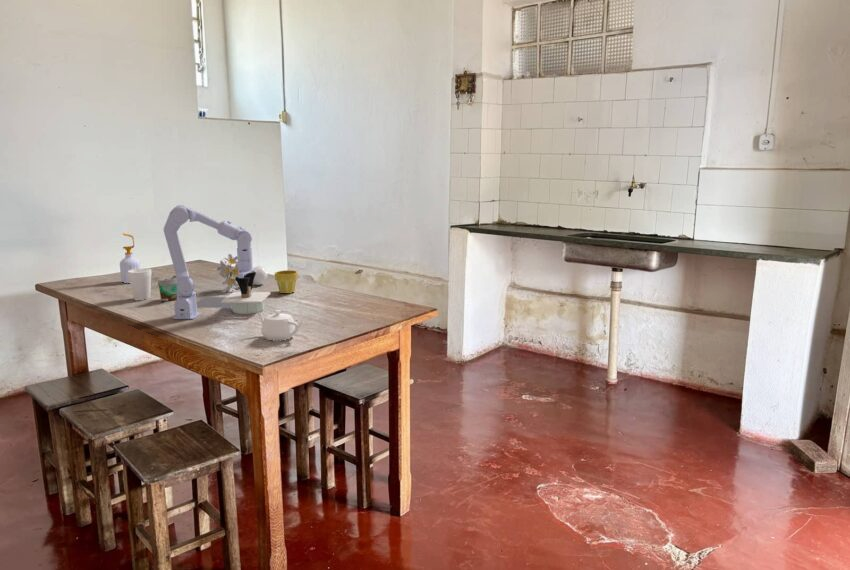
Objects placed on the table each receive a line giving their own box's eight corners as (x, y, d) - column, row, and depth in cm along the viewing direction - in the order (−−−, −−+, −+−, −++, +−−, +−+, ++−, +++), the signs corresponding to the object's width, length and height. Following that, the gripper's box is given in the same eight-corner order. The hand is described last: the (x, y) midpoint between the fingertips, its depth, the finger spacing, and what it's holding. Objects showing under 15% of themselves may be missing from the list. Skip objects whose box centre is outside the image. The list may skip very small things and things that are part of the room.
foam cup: (126, 299, 275) (123, 271, 273) (144, 295, 283) (141, 267, 280) (140, 302, 271) (137, 273, 268) (158, 298, 279) (155, 269, 276)
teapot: (245, 337, 223) (244, 310, 220) (271, 328, 233) (269, 302, 231) (286, 346, 212) (284, 318, 210) (311, 337, 222) (310, 310, 220)
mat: (231, 308, 262) (231, 307, 262) (189, 308, 262) (189, 307, 262) (244, 298, 279) (243, 297, 279) (204, 298, 279) (204, 297, 279)
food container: (172, 303, 269) (170, 281, 267) (159, 303, 270) (157, 280, 268) (188, 297, 281) (186, 275, 278) (175, 296, 282) (174, 275, 280)
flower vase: (255, 296, 310) (212, 293, 290) (256, 260, 312) (213, 254, 292) (272, 295, 303) (229, 291, 282) (273, 258, 304) (231, 251, 284)
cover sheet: (260, 302, 249) (260, 291, 248) (221, 302, 249) (220, 291, 248) (270, 293, 264) (270, 283, 263) (233, 293, 264) (232, 283, 263)
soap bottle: (121, 281, 313) (116, 232, 308) (141, 279, 317) (136, 231, 312) (121, 284, 306) (116, 235, 300) (141, 282, 309) (136, 234, 304)
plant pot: (274, 290, 293) (273, 270, 291) (296, 289, 296) (295, 269, 294) (276, 295, 284) (275, 275, 281) (299, 294, 287) (298, 273, 284)
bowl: (259, 315, 251) (258, 302, 250) (227, 315, 251) (226, 301, 250) (267, 306, 264) (266, 294, 263) (237, 306, 264) (236, 294, 263)
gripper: (249, 262, 246) (251, 295, 249) (259, 256, 260) (261, 287, 263) (232, 262, 246) (234, 295, 249) (242, 256, 260) (244, 287, 263)
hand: (246, 291), depth 256 cm, fingers open, 7 cm apart
